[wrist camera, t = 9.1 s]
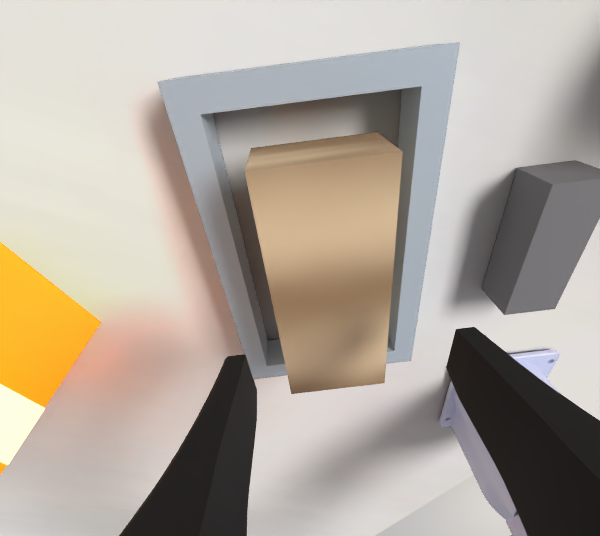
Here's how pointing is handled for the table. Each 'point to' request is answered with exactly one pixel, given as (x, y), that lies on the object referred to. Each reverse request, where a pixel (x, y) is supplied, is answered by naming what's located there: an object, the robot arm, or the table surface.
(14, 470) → the table surface
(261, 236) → the tan rectangular block
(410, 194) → the peg frame
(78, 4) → the table surface
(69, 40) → the table surface
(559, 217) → the gray rectangular block
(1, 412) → the orange juice
